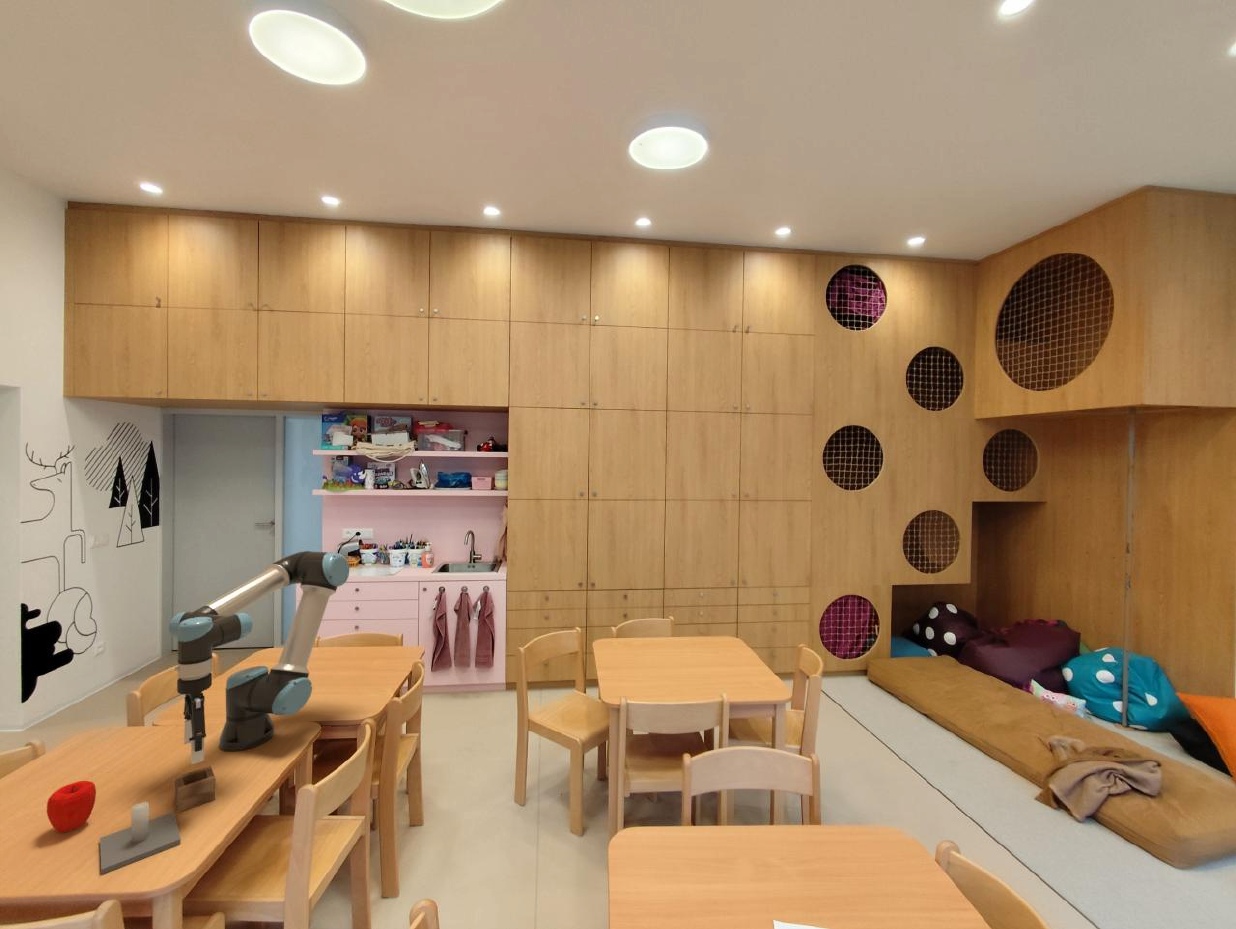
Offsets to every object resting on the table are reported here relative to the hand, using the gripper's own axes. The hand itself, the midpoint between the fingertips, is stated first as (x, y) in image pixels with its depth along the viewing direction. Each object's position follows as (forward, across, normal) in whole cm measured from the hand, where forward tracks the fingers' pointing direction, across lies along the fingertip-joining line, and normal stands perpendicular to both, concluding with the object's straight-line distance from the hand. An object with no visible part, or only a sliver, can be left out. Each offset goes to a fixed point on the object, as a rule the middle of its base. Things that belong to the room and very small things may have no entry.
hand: (193, 751), depth 148 cm
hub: (+13, 0, 0) cm, 13 cm away
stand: (+14, +12, -12) cm, 21 cm away
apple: (+14, -7, -24) cm, 28 cm away
